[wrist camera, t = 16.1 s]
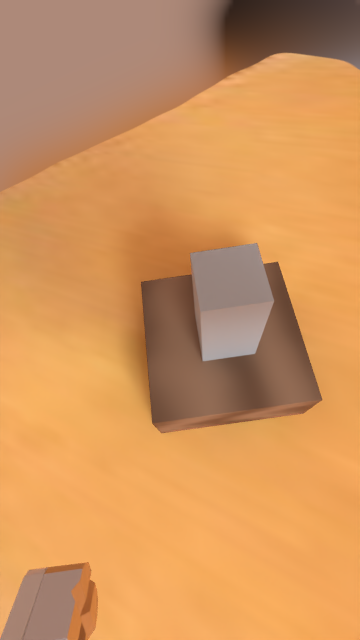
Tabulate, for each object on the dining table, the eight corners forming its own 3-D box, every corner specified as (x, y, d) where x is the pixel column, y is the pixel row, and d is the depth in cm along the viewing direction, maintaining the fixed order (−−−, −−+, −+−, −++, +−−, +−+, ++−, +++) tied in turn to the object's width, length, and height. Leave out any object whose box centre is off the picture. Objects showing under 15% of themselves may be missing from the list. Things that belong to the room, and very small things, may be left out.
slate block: (202, 361, 25) (200, 311, 17) (194, 315, 26) (190, 253, 19) (255, 353, 25) (274, 300, 17) (243, 307, 26) (257, 243, 19)
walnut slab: (161, 433, 27) (152, 423, 23) (150, 309, 33) (141, 281, 28) (303, 413, 27) (322, 399, 23) (268, 292, 33) (277, 261, 28)
